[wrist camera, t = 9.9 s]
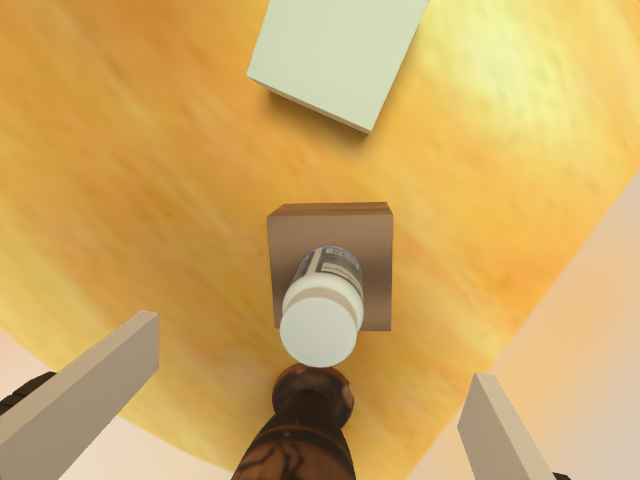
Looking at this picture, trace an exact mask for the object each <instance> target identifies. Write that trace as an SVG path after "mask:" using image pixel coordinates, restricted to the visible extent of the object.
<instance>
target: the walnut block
mask: <svg viewBox="0 0 640 480" xmlns="http://www.w3.org/2000/svg"><path fill="white" fill-rule="evenodd" d="M267 226H268V239H269V252H270V265H271V278H272V291H273V304H274V317H275V328H280V323H281V319H282V317H283V314H282V306H283V300H284V297H285V294H286V292H287V290H288V288H289V286H290V284H291V282H292V280H293V278H294V276H295V274H296V272H297V270H298V268H299V266H300V264H301V262H302V261H303V259H304V258H305V257H306V256H307V255H308V254H309V253H310V252H311V251H313V250H315V249H317V248H320V247H326V246H334V247H339V248H342V249H344V250H346V251H348V252H349V253H351V254H352V255H353V256H354V257H355V258H356V260H357V261H358V263H359V265H360V267H361V271H362V277H363V302H364V317H363V322H362V325H361V327H360V329H359V330H365V331H391V290H392V241H393V214H392V212H391V210H390V208H389V206H388V204H387V203H386V202H367V203H312V204H284V205H282V206H281V207H280V208H278V209H277V210H275V211H274V212H273V213H271V214H270V215H268V216H267Z"/></svg>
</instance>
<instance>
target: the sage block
mask: <svg viewBox="0 0 640 480" xmlns="http://www.w3.org/2000/svg"><path fill="white" fill-rule="evenodd" d="M428 2H429V0H270V3H269V6H268V9H267V12H266V15H265V18H264V22H263V25H262V28H261V31H260V34H259V37H258V40H257V43H256V46H255V50H254V53H253V56H252V59H251V62H250V65H249V68H248V71H247V74H246V76H247V77H249V78H250V79H252V80H253V81H255V82H256V83H258V84H259V85H261V86H262V87H264V88H265V89H267V90H268V91H270V92H273V93H275V94H277V95H279V96H282V97H284V98H286V99H288V100H291V101H293V102H295V103H297V104H300V105H302V106H304V107H307V108H309V109H311V110H313V111H316V112H318V113H320V114H322V115H325V116H327V117H329V118H331V119H334V120H336V121H338V122H340V123H343V124H345V125H347V126H349V127H352V128H354V129H356V130H359V131H361V132H363V133H365V134H368V135H369V134H370V132H371V131H372V128H373V126H374V124H375V122H376V119H377V117H378V115H379V113H380V110H381V108H382V106H383V104H384V101H385V99H386V97H387V95H388V92H389V90H390V88H391V86H392V83H393V81H394V79H395V77H396V74H397V72H398V70H399V68H400V65H401V63H402V61H403V59H404V56H405V54H406V52H407V50H408V47H409V45H410V43H411V41H412V38H413V36H414V34H415V32H416V29H417V27H418V25H419V23H420V20H421V18H422V16H423V14H424V11H425V9H426V7H427V5H428Z"/></svg>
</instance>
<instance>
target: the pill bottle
mask: <svg viewBox="0 0 640 480" xmlns="http://www.w3.org/2000/svg"><path fill="white" fill-rule="evenodd" d="M282 314H283V317H282V319H281V323H280V337H281V340H282V343H283V345H284V347H285V349H286V350H287V352H288V353H289V354H290V355H291V356H292V357H293V358H294V359H296V360H297V361H298V362H300V363H302V364H305V365H307V366H311V367H330V366H333V365H336V364H338V363H340V362H342V361H343V360H344V359H346V358H347V357H348V356H349V355H350V353H351V352H352V350H353V349H354V347H355V344H356V340H357V333H358V331H359V329H360V327H361V325H362V322H363V317H364V302H363V277H362V271H361V267H360V265H359V263H358V261H357V260H356V258H355V257H354V256H353V255H352V254H351V253H349V252H348V251H346V250H344V249H342V248H339V247H334V246H326V247H320V248H317V249H315V250H313V251H311V252H310V253H309V254H308V255H307V256H306V257H305V258H304V259H303V261H302V262H301V264H300V266H299V268H298V270H297V272H296V274H295V276H294V278H293V280H292V282H291V284H290V286H289V288H288V290H287V292H286V294H285V297H284V300H283V306H282Z"/></svg>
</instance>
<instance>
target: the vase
mask: <svg viewBox="0 0 640 480" xmlns="http://www.w3.org/2000/svg"><path fill="white" fill-rule="evenodd" d="M272 404H273V408H274V411H275V415H274V416H273V417H272V418H271V419H270V420H269V421H268V422H267V424H266V425H265V426H264V427H263V428H262V429H261V430H260V432H259V433H258V435H257V436H256V437H255V439H254V440H253V442H252V443H251V445H250V446H249V448H248V449H247V451H246V453H245V455H244V456H243V458H242V460H241V462H240V464H239V465H238V467H237V469H236V471H235V473H234V475H233V477H232V479H231V480H356V477H355V472H354V467H353V462H352V458H351V454H350V451H349V448H348V445H347V443H346V440H345V438H344V436H343V433H342V431H341V428H342V427H343V426H344V425H345V424H346V422H347V421H348V419H349V418H350V416H351V412H352V409H353V405H354V399H353V397H352V396H351V394H350V391H349V383H348V381H347V380H346V379H345V378H344V377H343V376H342V375H341V374H340V373H338V372H337V371H336V370H334V369H332V368H330V367H311V366H307V365H305V364H298V365H294V366H292V367H290V368H289V369H287V370H285V371H284V372H283V373H282V374H281V375H280V377H279V378H278V379H277V381H276V382H275V385H274V388H273V394H272Z"/></svg>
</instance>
